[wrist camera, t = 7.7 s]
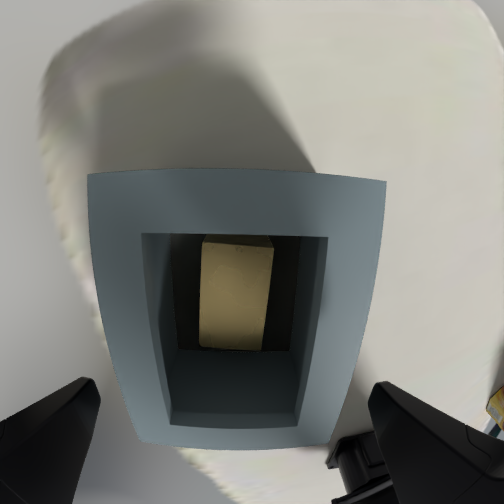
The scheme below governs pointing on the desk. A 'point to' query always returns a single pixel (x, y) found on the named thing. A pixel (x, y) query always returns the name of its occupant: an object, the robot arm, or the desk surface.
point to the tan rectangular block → (234, 290)
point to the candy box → (497, 408)
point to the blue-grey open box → (221, 362)
